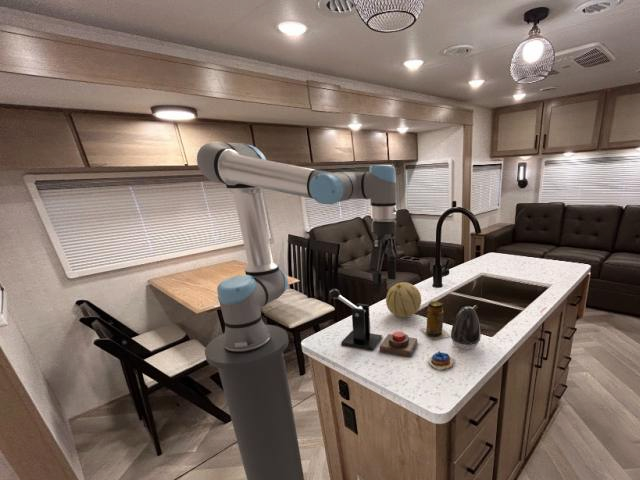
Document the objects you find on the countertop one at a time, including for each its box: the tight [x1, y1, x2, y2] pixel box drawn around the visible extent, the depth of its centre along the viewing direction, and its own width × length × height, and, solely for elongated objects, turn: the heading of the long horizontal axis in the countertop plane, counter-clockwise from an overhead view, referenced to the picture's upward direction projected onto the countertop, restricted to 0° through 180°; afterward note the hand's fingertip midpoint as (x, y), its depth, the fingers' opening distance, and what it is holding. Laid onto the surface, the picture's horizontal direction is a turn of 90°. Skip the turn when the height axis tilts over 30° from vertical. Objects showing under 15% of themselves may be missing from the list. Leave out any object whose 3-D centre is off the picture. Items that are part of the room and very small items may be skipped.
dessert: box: [428, 350, 454, 371], centre depth 103 cm, size 8×7×6 cm
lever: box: [329, 288, 366, 312], centre depth 112 cm, size 14×4×4 cm
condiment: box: [421, 300, 449, 340], centre depth 120 cm, size 7×8×12 cm
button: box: [392, 330, 406, 341], centre depth 111 cm, size 4×4×2 cm
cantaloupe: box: [385, 281, 422, 318], centre depth 133 cm, size 15×15×15 cm
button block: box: [379, 333, 418, 357], centre depth 112 cm, size 11×9×4 cm
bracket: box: [340, 303, 383, 351], centre depth 114 cm, size 12×9×14 cm
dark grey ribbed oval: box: [450, 304, 482, 351], centre depth 110 cm, size 10×10×15 cm
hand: (385, 285), depth 105 cm, fingers open, 13 cm apart
